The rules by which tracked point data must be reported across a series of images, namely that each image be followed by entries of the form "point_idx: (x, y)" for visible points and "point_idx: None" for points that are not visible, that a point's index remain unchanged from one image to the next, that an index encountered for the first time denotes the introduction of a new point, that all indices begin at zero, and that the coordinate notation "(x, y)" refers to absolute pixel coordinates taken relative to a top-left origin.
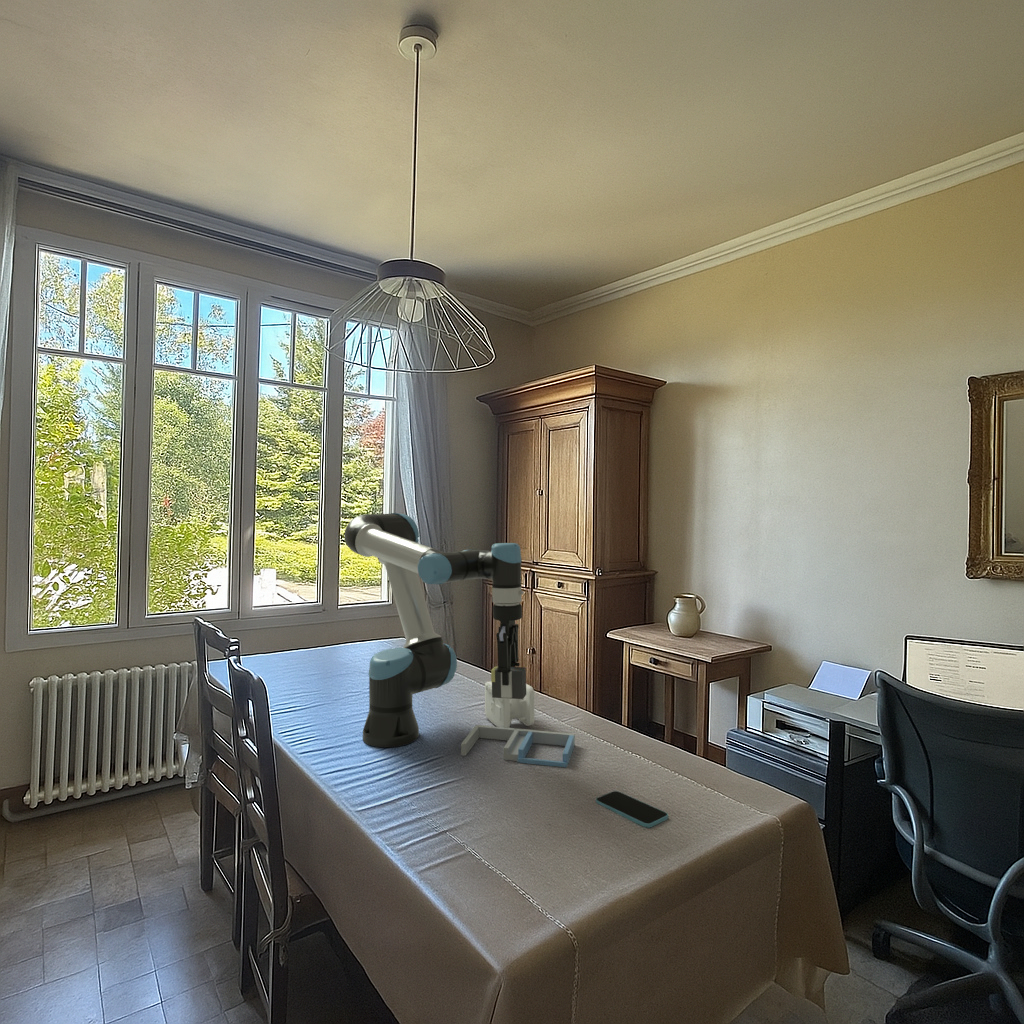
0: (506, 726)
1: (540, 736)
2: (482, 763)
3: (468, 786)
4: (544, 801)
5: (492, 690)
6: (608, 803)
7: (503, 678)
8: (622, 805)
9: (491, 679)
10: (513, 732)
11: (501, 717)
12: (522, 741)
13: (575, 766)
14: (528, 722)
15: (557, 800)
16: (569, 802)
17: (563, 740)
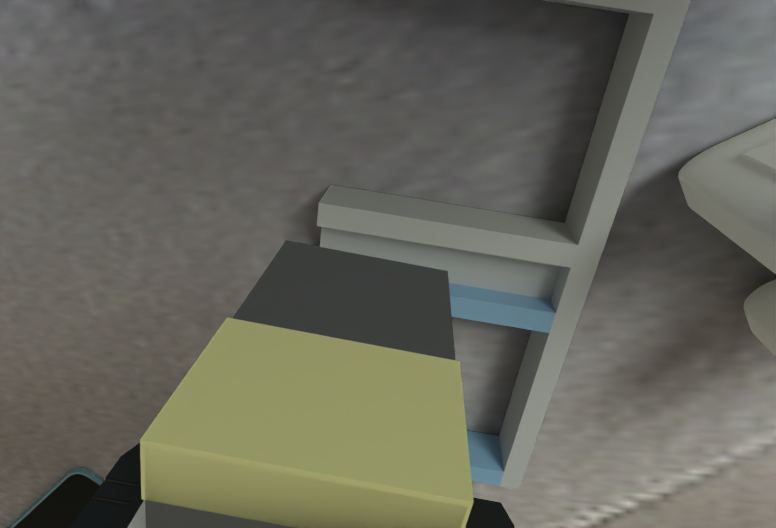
0: (684, 189)
1: (535, 354)
2: (270, 85)
3: (18, 50)
4: (21, 340)
5: (262, 276)
6: (62, 496)
7: (83, 524)
8: (62, 523)
9: (212, 339)
10: (540, 241)
11: (739, 170)
12: (482, 274)
13: None
14: (755, 300)
15: (44, 375)
16: (45, 405)
17: (507, 432)
